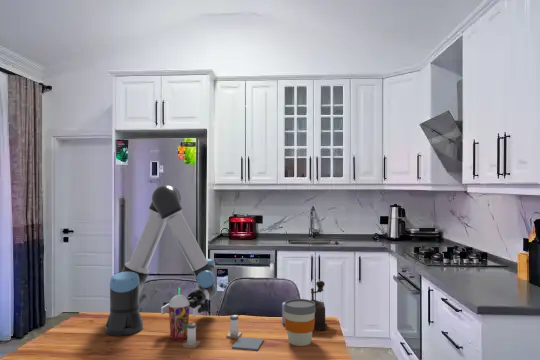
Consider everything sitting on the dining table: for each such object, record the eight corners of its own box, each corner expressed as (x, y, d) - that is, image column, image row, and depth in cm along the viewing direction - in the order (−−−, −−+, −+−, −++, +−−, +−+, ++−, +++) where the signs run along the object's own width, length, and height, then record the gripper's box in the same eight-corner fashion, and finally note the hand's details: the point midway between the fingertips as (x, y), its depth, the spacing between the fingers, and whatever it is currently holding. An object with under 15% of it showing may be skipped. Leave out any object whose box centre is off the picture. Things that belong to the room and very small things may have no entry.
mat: (231, 348, 153) (231, 346, 153) (239, 338, 163) (239, 337, 163) (257, 350, 151) (257, 348, 151) (263, 340, 161) (263, 339, 161)
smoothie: (187, 342, 159) (187, 290, 160) (165, 341, 159) (166, 290, 160) (191, 334, 168) (191, 285, 168) (171, 334, 168) (171, 285, 168)
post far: (226, 337, 164) (226, 317, 164) (230, 333, 169) (230, 313, 169) (238, 338, 163) (238, 318, 163) (241, 334, 168) (241, 314, 168)
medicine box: (300, 321, 184) (300, 302, 184) (299, 324, 179) (299, 305, 179) (282, 320, 185) (282, 301, 185) (282, 324, 180) (282, 304, 180)
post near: (182, 347, 154) (182, 325, 154) (188, 342, 159) (188, 321, 159) (195, 348, 153) (195, 326, 153) (200, 343, 158) (200, 322, 158)
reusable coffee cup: (289, 349, 152) (289, 308, 152) (279, 337, 164) (279, 299, 165) (320, 345, 156) (320, 306, 156) (309, 334, 168) (308, 297, 168)
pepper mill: (327, 330, 172) (327, 288, 172) (301, 330, 172) (301, 287, 173) (324, 319, 187) (324, 279, 188) (300, 318, 188) (300, 279, 188)
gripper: (224, 308, 180) (207, 323, 159) (172, 304, 185) (148, 319, 164) (224, 291, 180) (207, 304, 159) (172, 288, 185) (149, 300, 164)
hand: (177, 312), depth 162 cm, fingers open, 13 cm apart
